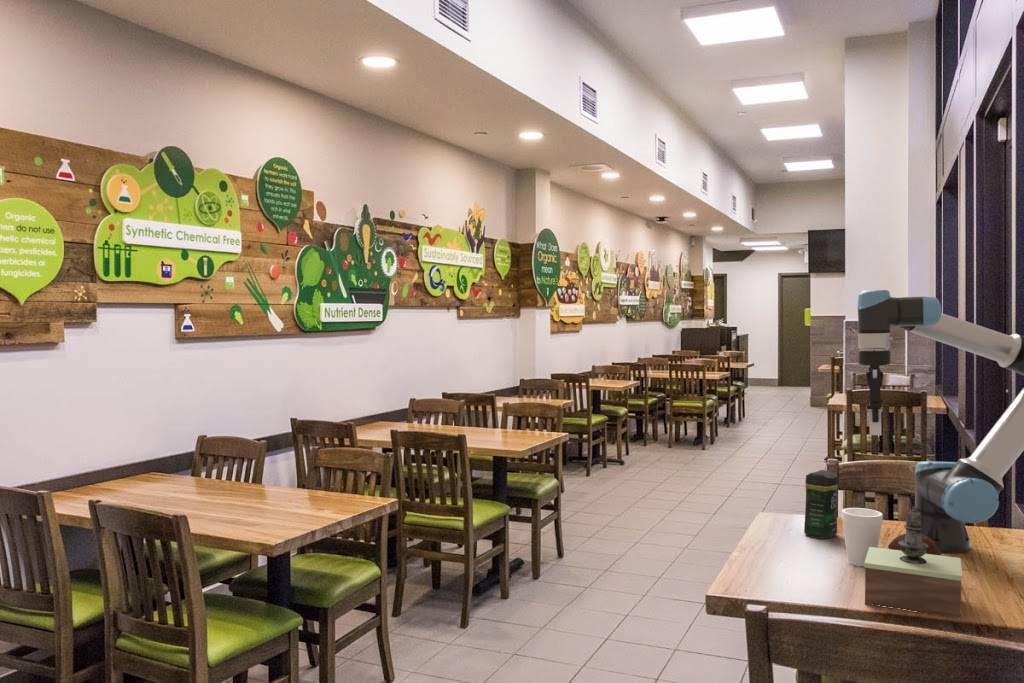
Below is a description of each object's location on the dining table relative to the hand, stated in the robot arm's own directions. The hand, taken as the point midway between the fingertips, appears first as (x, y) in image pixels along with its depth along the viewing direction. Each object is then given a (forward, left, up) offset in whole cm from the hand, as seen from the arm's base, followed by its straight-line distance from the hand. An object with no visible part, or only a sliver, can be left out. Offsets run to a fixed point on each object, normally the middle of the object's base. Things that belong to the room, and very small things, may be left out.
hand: (875, 431), depth 203 cm
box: (+10, +31, -33) cm, 47 cm away
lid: (+10, +31, -25) cm, 41 cm away
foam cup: (+6, +4, -33) cm, 34 cm away
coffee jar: (+3, -22, -33) cm, 40 cm away
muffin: (-1, +15, -33) cm, 37 cm away
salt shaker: (+10, +31, -24) cm, 41 cm away
